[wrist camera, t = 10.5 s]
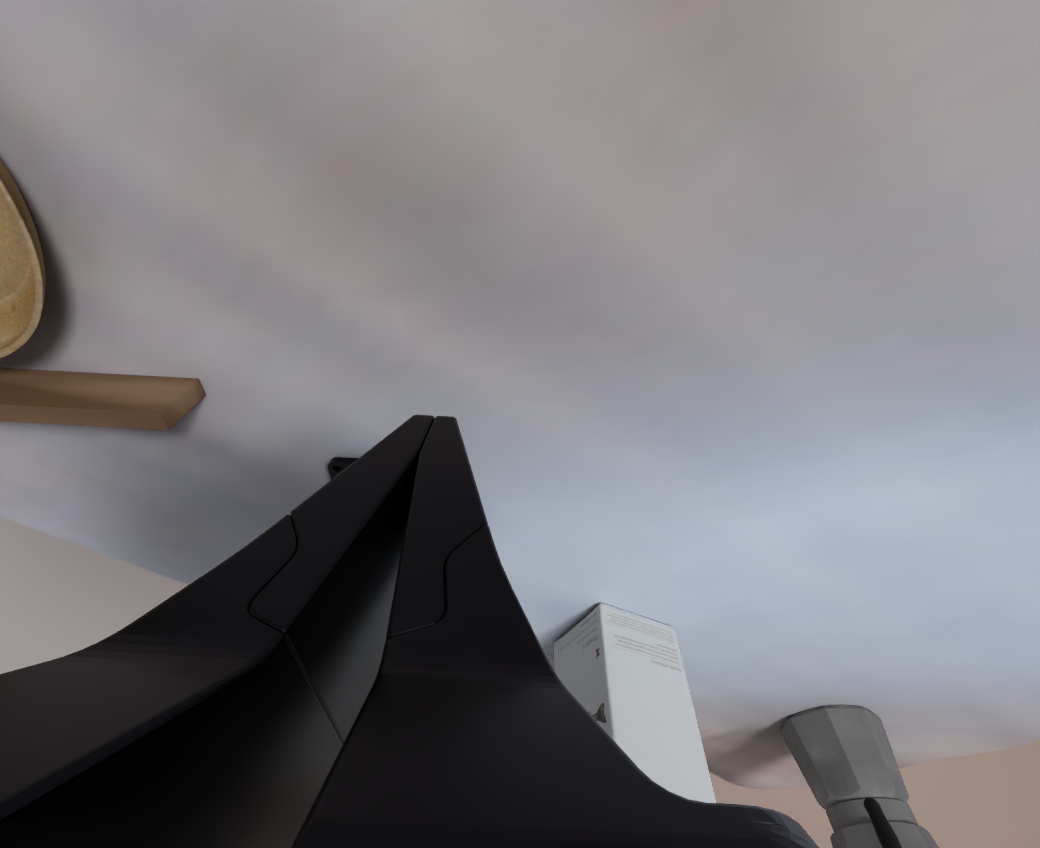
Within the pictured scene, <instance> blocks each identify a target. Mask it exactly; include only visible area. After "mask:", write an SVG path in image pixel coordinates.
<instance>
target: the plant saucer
mask: <svg viewBox="0 0 1040 848" xmlns="http://www.w3.org/2000/svg"><path fill="white" fill-rule="evenodd" d="M45 286H46V280H45V267H44V260H43V254H42V249H41V245H40V242H39V238H38V234H37V231H36V228H35V225H34V222H33V220H32V217H31V215H30V212H29V210H28V208H27V205H26V203H25V201H24V199H23V197H22V195H21V193H20V191H19V189H18V187H17V185H16V184H15V182H14V180H13V178H12V177H11V175H10V173H9V172H8V170H7V169H6V167H5V166H4V164H3V163H2V161H1V160H0V358H2V357H5V356H7V355H9V354H11V353H13V352H14V351H16V350H17V349H19V348H20V347H21V346H23V345H24V344H25V343H26V342H27V341H28V340H29V338H30V337H31V336H32V334H33V333H34V331H35V330H36V328H37V326H38V323H39V321H40V317H41V313H42V308H43V304H44V297H45Z"/></svg>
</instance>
